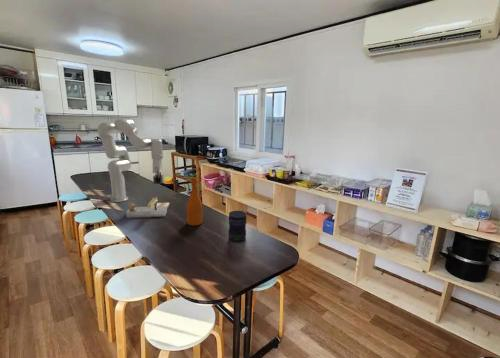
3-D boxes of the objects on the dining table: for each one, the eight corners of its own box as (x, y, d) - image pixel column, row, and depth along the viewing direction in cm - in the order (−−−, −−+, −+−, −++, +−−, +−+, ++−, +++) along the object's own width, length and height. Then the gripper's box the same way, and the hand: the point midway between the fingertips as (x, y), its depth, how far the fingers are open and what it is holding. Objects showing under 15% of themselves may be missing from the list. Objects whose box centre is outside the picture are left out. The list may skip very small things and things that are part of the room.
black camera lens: (239, 244, 133) (240, 218, 130) (224, 239, 138) (224, 214, 135) (249, 237, 141) (250, 213, 138) (235, 233, 146) (235, 209, 143)
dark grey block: (153, 183, 178) (153, 176, 177) (155, 181, 183) (154, 175, 182) (162, 183, 179) (162, 176, 178) (163, 181, 184) (163, 175, 183)
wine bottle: (205, 222, 161) (205, 176, 154) (196, 227, 152) (195, 180, 145) (193, 219, 165) (192, 174, 158) (183, 224, 156) (182, 177, 149)
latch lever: (151, 208, 155) (151, 204, 154) (147, 208, 155) (147, 204, 154) (157, 200, 170) (157, 196, 169) (154, 200, 169) (153, 196, 169)
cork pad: (151, 209, 180) (151, 207, 180) (154, 203, 190) (154, 202, 190) (167, 208, 182) (167, 207, 182) (169, 203, 192) (169, 202, 192)
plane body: (126, 217, 163) (125, 204, 161) (130, 212, 172) (129, 199, 170) (165, 216, 168) (164, 203, 165) (166, 211, 176) (166, 199, 174)
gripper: (154, 155, 184) (155, 178, 188) (148, 158, 168) (150, 184, 172) (164, 155, 185) (165, 178, 190) (160, 158, 169) (161, 184, 173)
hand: (158, 181), depth 181 cm, fingers closed on dark grey block, 5 cm apart
